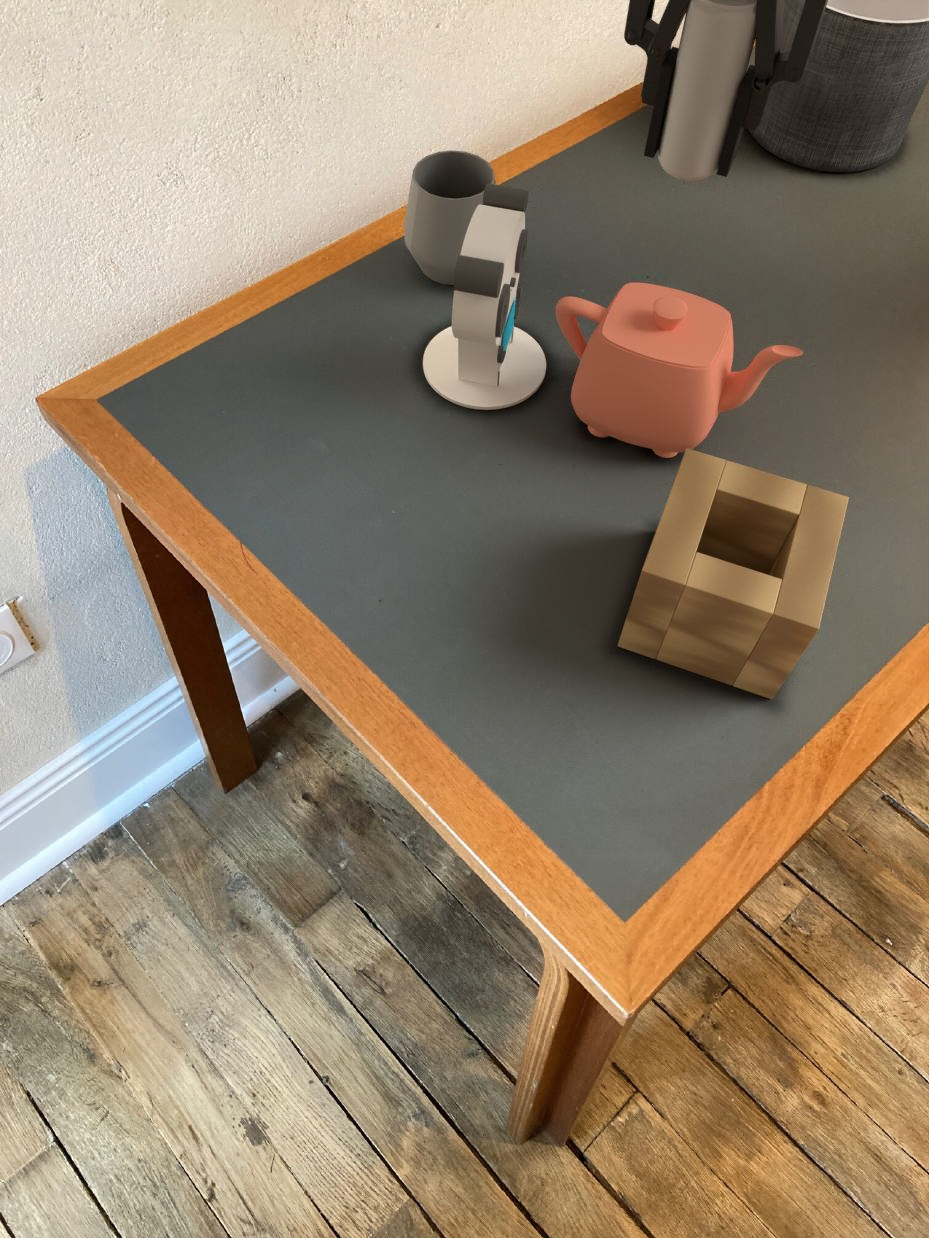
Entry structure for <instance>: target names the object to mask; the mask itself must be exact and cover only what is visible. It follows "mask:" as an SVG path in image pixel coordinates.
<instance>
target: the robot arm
mask: <svg viewBox="0 0 929 1238" xmlns="http://www.w3.org/2000/svg"><path fill="white" fill-rule="evenodd" d="M689 1H690V0H668V2H667V4H666V6H665V9H664V11H663V13H662V15H661V18H660V20H659V22H657V21H655V20H653V14H654V9H655V4H656V0H629V1H628V7H627V8H628V9H627V14H626V21H625V27H624V33H623V38H624V41H625V42H626V44H627V45H629V46H637V47H639V48H640V49H642V50H643V52H644V53H645V55H646V64H645V65H646V66H645V70H644V76H643V82H642V88H641V93H640V97H641V103H642V104H645V105H648V106H652V112H651V118H650V122H649V127H648V132H647V136H646V137H647V138H646V143H645V148H644V152H643V157H648V158H651V159H655V156H656V155H657V154H658V149H659V144H660V139H661V134H662V129H663V124H664V119H665V114H666V108H667V103H668V98H669V93H670V88H671V83H672V78H673V73H674V68H675V63H676V58H677V54H678V49H679V47H677V46H672V45H673V42H674V40H675V38H676V36H677V33H678V31H679V29H680V27H681V25H682V23H683V21H684V19H685V15H686V10H687V6H688V3H689ZM827 2H828V0H805V4H804V7H803V10H802V14H801V17H800V20H799V24H798V27H797V30H796V34H795V37H794V40H793V44H792V47H791V50H790V51H787V52H781V43H782V26H783V9H784V0H757V14H756V39H755V42H754V45H755V46H754V65H753V64H750V65H748V68H747V72H746V74H745V77H744V79H743V81H742V83H741V85H740V89H739V93H738V96H737V100H736V104H735V108H734V111H733V115H732V119H731V122H730V126H729V130H728V133H727V137H726V141H725V145H724V148H723V152H722V156H721V159H720V163H719V167H718V170H717V171H716V175H717V176H720V177H724V178H727V177H728V175H729V172H730V170H731V168H732V166H733V164H734V162H735V159H736V157H737V154H738V150H739V146H740V143H741V139H742V135H743V132H744V129H747V130H749V129H751V130H755V129H756V128H757V127H758V126H759V124H760V122H761V120H762V118H763V115H764V113H765V110H766V106H767V103H768V99H769V96H770V93H771V89H772V86H773V84H775V83H776V82H779V81H785V80H787V81H788V82H790V83H795V82H798V81H799V80H800V79H801V77H802V75H803V73H804V71H805V68H806V66H807V63H808V61H809V59H810V56H811V53H812V49H813V46H814V43H815V40H816V37H817V34H818V31H819V28H820V24H821V21H822V18H823V15H824V12H825V9H826V6H827Z"/></svg>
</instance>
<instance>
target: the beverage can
mask: <svg viewBox="0 0 929 1238" xmlns="http://www.w3.org/2000/svg"><path fill="white" fill-rule="evenodd" d="M756 14H757V0H690V1H689V3H688V6H687V10H686V14H685V16H684V19H683V25H682V29H681V30H682V31H681V34H680V39H679V44H678V48H679V49H678V54H677V58H676V63H675V68H674V73H673V78H672V83H671V88H670V93H669V98H668V103H667V108H666V114H665V119H664V124H663V129H662V134H661V139H660V144H659V149H658V151H657V159H658V161H659V164H660V167H661V168H662V169H663V170H664V172H665V173H666V174H668V175H669V176H670V177H672V178H675V179H677V180H681V181H690V182H693V181H694V182H696V181H701V180H705V179H707V178H709V177H711V176H712V175H713V174H714V173H717V171H718V167H719V163H720V159H721V156H722V152H723V148H724V145H725V141H726V137H727V133H728V130H729V126H730V122H731V119H732V115H733V111H734V108H735V104H736V100H737V96H738V93H739V89H740V85H741V83H742V81H743V79H744V77H745V74H746V72H747V70H748V68H749V64H750V62H751V61H750V60H751V57H752V53H753V49H754V47H755V46H754V45H755V40H756Z"/></svg>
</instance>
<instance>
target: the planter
mask: <svg viewBox="0 0 929 1238" xmlns="http://www.w3.org/2000/svg"><path fill="white" fill-rule="evenodd" d="M804 4H805V0H784V9H783V26H782V43H781V52H787V51H790V50H791V47H792V44H793V40H794V37H795V34H796V30H797V27H798V24H799V20H800V17H801V14H802V10H803V7H804ZM928 83H929V0H828V2H827V6H826V9H825V12H824V15H823V18H822V21H821V24H820V28H819V31H818V34H817V37H816V40H815V43H814V46H813V49H812V53H811V56H810V59H809V61H808V63H807V66H806V68H805V71H804V73H803V75H802V77H801V79H800V80H799V81H798V82H795V83H790V82H788V81H787V80H785V81H779V82H776V83H775V84H773V86H772V89H771V93H770V96H769V99H768V103H767V106H766V110H765V113H764V115H763V118H762V120H761V122H760V124H759V126H758V127H757V128H756V129H755V130H751V129H748V131H749V133H750V135H751V136H752V137H753V139H754V140H755V141H756V142H757V143H758V144H759V145H760V146H761V147H762V148H764V149H765V150H766V151H767V152H769V153H771V154H772V155H774V156H776V157H777V158H779V159H781V160H784V161H786V162H788V163H790V164H793V165H796V166H799V167H802V168H806V169H810V170H815V171H820V172H828V173H853V172H854V173H856V172H861V171H867V170H870V169H874V168H877V167H879V166H881V165H883V164H885V163H887V162H888V161H889V160H891V159H892V158H893V157H894V156H895V155H896V154H897V152H898V151H899V149H900V147H901V145H902V143H903V140H904V137H905V134H906V132H907V130H908V127H909V126H910V122H911V120H912V118H913V115H914V114H915V111H916V109H917V107H918V105H919V102H920V100H921V98H922V96H923V94H924V92H925V89H926V87H927V85H928Z"/></svg>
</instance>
